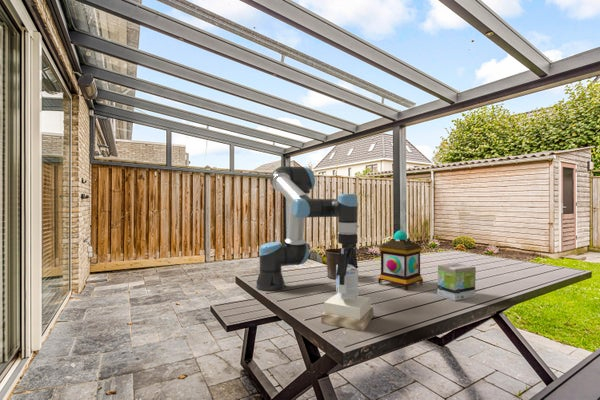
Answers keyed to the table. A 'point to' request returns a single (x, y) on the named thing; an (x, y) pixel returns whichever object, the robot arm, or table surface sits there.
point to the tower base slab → (347, 320)
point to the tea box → (456, 281)
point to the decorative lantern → (400, 261)
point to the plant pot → (332, 262)
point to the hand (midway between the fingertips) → (347, 288)
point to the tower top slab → (347, 306)
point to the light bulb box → (349, 283)
